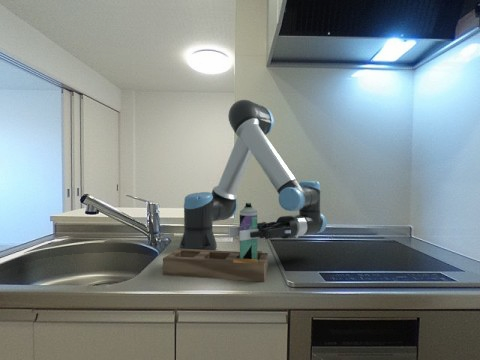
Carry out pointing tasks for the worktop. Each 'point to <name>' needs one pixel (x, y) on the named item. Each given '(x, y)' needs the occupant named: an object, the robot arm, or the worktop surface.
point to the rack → (215, 265)
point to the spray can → (247, 223)
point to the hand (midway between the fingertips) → (234, 234)
